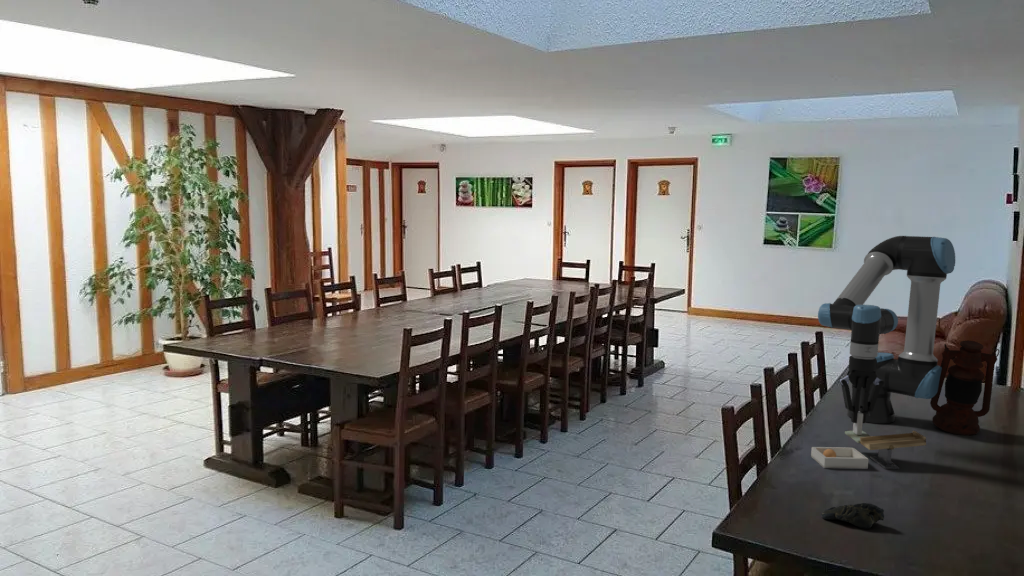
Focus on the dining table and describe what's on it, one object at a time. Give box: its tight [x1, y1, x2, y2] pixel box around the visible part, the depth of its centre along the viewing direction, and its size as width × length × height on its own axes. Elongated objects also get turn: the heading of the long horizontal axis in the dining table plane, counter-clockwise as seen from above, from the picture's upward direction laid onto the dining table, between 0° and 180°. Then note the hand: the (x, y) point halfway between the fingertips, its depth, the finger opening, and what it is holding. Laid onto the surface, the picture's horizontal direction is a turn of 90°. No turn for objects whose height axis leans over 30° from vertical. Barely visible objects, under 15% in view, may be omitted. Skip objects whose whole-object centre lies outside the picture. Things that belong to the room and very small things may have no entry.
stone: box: [821, 502, 885, 530], centre depth 171 cm, size 7×13×5 cm, turn 68°
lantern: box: [929, 340, 1000, 436], centre depth 238 cm, size 17×14×30 cm
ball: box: [823, 449, 836, 457], centre depth 210 cm, size 4×4×4 cm
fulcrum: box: [869, 448, 900, 470], centre depth 210 cm, size 9×4×5 cm, turn 179°
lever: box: [844, 429, 927, 451], centre depth 213 cm, size 16×16×2 cm
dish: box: [810, 446, 869, 470], centre depth 210 cm, size 9×12×3 cm
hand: (857, 433), depth 218 cm, fingers closed
